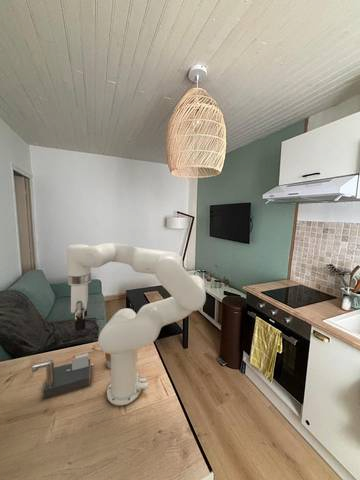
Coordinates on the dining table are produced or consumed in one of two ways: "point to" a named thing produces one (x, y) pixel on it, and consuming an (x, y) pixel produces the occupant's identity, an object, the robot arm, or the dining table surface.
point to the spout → (49, 370)
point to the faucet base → (67, 380)
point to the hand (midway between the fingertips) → (81, 322)
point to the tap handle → (80, 361)
